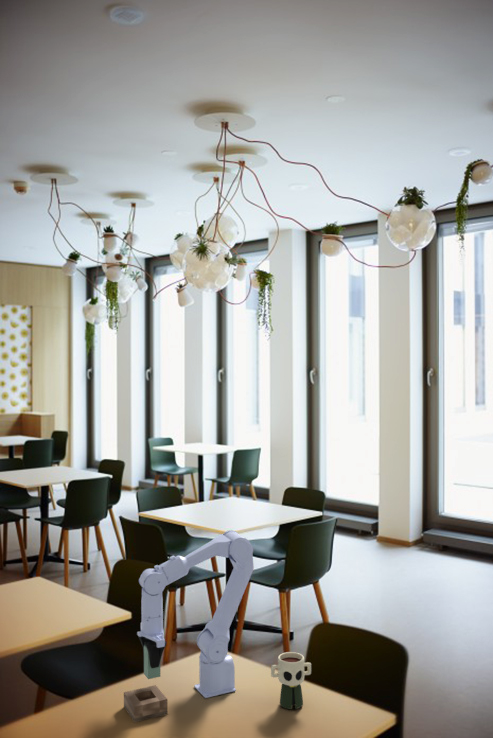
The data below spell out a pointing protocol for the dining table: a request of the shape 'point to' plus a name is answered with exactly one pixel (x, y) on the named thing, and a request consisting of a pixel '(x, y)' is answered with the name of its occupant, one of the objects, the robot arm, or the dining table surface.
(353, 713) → the dining table surface
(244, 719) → the dining table surface
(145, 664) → the square peg
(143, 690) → the hole block
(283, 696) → the character mug
